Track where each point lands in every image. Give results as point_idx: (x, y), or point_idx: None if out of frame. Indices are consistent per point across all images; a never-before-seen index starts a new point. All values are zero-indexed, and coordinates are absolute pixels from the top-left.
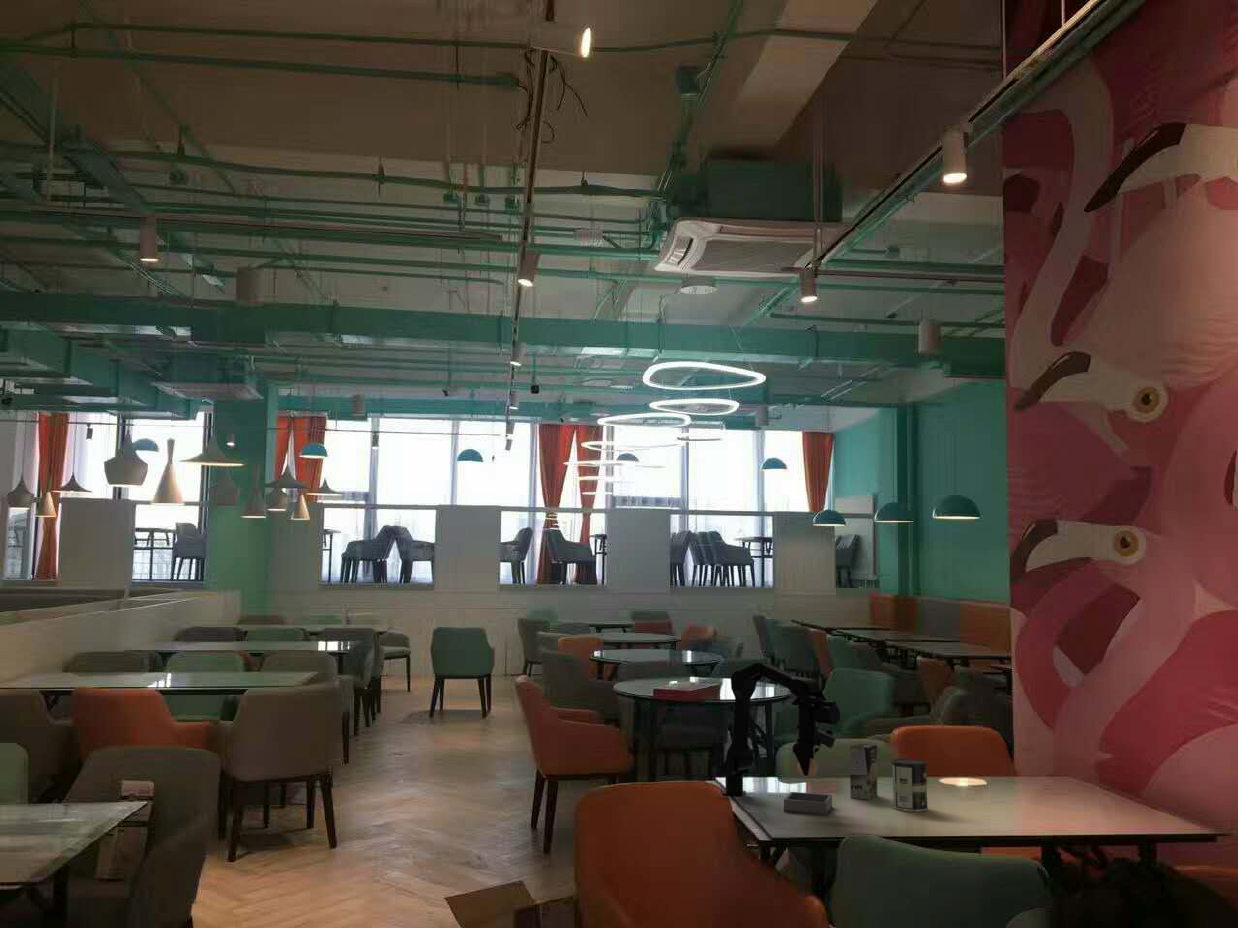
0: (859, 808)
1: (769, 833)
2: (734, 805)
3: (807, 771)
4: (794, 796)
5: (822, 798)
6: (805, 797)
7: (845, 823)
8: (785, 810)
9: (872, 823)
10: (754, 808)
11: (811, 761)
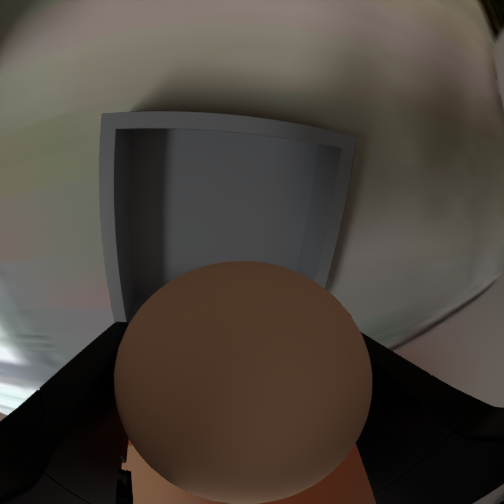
0: (135, 3)
1: (490, 284)
2: None
3: (371, 345)
4: (130, 306)
5: (120, 166)
6: (124, 257)
7: (434, 88)
8: None
9: (407, 4)
10: None
11: (354, 418)
